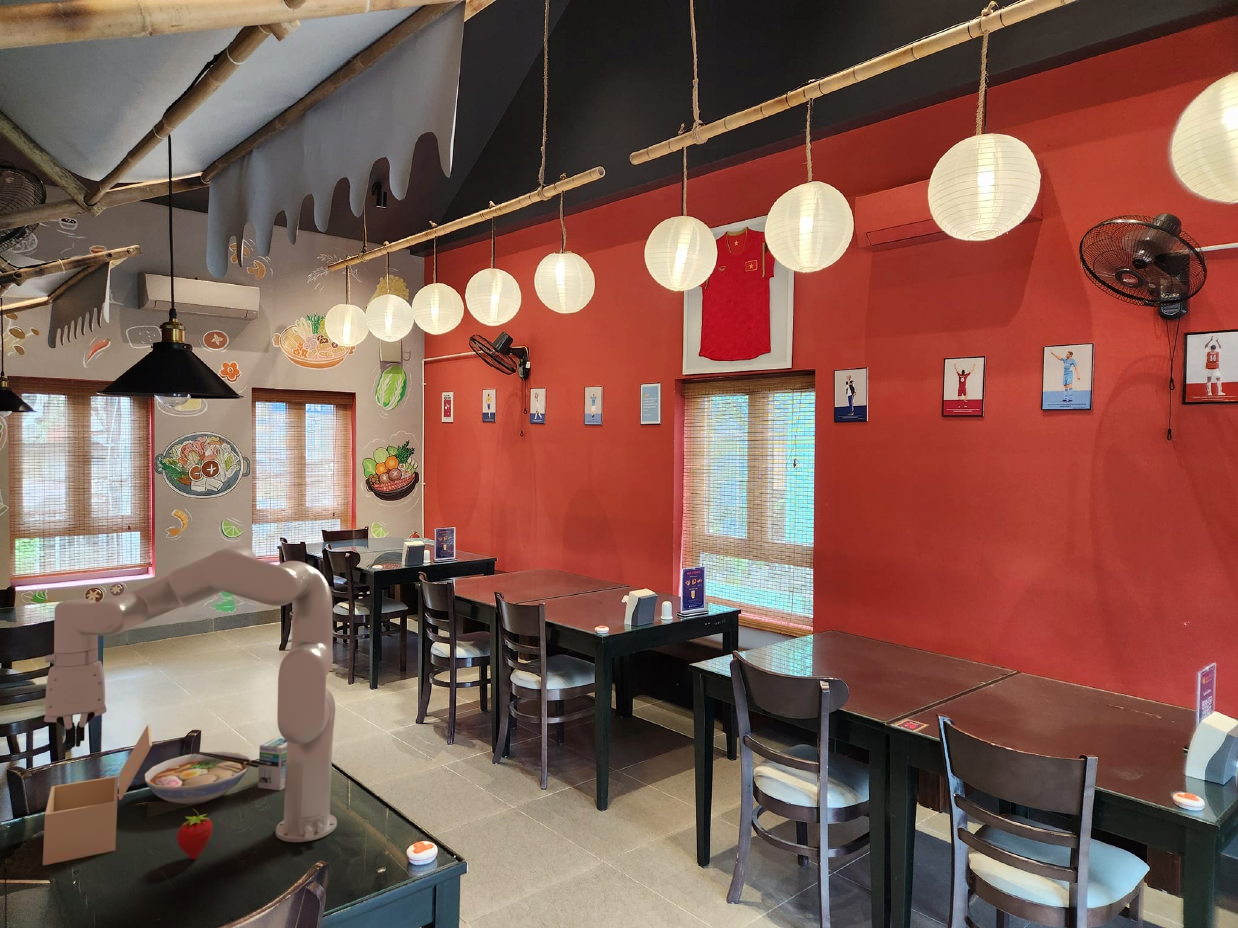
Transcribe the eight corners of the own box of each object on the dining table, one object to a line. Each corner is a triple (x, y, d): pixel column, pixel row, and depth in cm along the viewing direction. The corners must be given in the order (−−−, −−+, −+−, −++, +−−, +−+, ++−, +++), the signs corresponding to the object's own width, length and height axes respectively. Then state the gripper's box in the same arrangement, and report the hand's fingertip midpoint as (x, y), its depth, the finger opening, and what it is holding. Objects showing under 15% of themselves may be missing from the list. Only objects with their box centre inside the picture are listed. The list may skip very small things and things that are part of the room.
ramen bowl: (116, 807, 176) (117, 772, 176) (203, 773, 197) (204, 741, 197) (192, 828, 166) (193, 791, 166) (274, 790, 187) (275, 757, 188)
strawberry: (167, 867, 150) (169, 816, 150) (192, 848, 157) (194, 800, 157) (195, 869, 149) (197, 818, 149) (219, 850, 157) (221, 802, 157)
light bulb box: (280, 791, 187) (282, 747, 187) (256, 788, 188) (258, 745, 188) (306, 774, 197) (307, 733, 198) (283, 772, 199) (285, 731, 199)
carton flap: (118, 798, 156) (121, 799, 156) (149, 745, 159) (151, 745, 159) (119, 773, 169) (121, 774, 169) (147, 724, 172) (149, 724, 173)
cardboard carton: (115, 850, 156) (117, 801, 156) (42, 865, 149) (44, 814, 149) (116, 820, 169) (117, 775, 169) (49, 832, 162) (51, 786, 163)
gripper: (29, 667, 151) (28, 758, 151) (118, 656, 160) (118, 743, 159) (33, 659, 158) (32, 747, 157) (118, 650, 166) (118, 733, 166)
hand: (75, 745), depth 158 cm, fingers closed
